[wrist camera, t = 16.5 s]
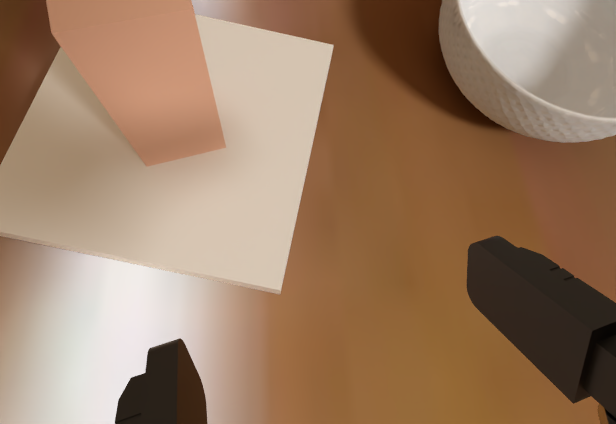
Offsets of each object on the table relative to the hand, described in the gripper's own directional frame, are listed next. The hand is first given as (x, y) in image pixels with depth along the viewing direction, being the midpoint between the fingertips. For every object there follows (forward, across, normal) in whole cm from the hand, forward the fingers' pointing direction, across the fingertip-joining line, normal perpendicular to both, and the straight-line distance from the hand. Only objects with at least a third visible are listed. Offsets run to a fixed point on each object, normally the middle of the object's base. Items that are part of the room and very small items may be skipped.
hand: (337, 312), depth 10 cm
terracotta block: (+19, +4, -2) cm, 19 cm away
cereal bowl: (+20, -23, +1) cm, 30 cm away
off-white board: (+20, +4, 0) cm, 21 cm away
